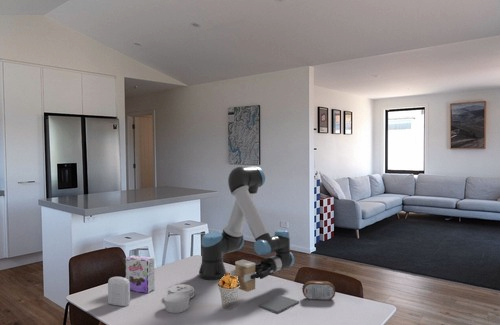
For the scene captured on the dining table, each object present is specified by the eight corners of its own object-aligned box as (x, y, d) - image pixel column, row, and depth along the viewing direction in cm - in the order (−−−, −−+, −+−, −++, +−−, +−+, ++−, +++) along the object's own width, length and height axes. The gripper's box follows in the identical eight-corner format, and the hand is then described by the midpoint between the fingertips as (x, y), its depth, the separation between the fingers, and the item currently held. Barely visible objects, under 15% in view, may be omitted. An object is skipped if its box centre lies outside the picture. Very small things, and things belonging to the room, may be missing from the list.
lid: (199, 296, 175) (199, 286, 175) (178, 304, 166) (178, 293, 166) (183, 290, 184) (183, 280, 184) (162, 297, 174) (161, 287, 174)
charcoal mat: (258, 306, 163) (258, 304, 163) (280, 296, 174) (280, 295, 174) (277, 313, 155) (277, 311, 155) (299, 303, 166) (299, 301, 166)
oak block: (235, 287, 170) (235, 261, 170) (242, 284, 174) (242, 259, 173) (247, 291, 165) (247, 265, 164) (255, 288, 168) (255, 262, 168)
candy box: (125, 290, 184) (124, 257, 184) (133, 286, 190) (132, 254, 190) (147, 293, 179) (147, 260, 179) (155, 289, 185) (154, 257, 184)
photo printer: (131, 303, 168) (131, 276, 167) (125, 307, 164) (125, 279, 163) (112, 301, 171) (112, 274, 171) (106, 304, 167) (106, 277, 166)
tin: (334, 298, 171) (334, 280, 171) (335, 301, 168) (335, 283, 168) (302, 297, 173) (302, 280, 172) (302, 300, 169) (302, 282, 169)
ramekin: (161, 306, 164) (161, 294, 164) (186, 302, 169) (186, 290, 169) (166, 316, 154) (166, 303, 154) (192, 311, 158) (192, 299, 158)
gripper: (287, 277, 175) (254, 290, 158) (255, 267, 189) (222, 278, 173) (287, 262, 175) (254, 273, 158) (255, 253, 189) (222, 263, 173)
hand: (237, 276), depth 166 cm, fingers closed on oak block, 8 cm apart
